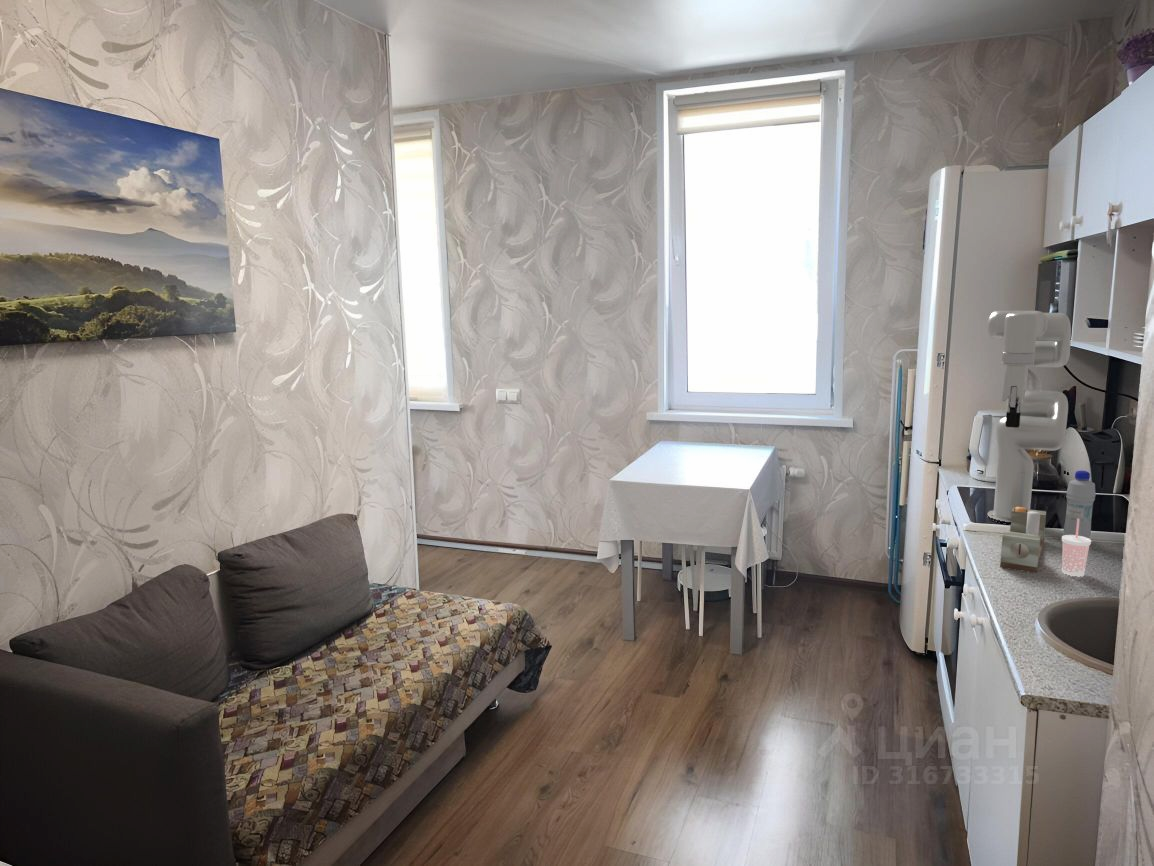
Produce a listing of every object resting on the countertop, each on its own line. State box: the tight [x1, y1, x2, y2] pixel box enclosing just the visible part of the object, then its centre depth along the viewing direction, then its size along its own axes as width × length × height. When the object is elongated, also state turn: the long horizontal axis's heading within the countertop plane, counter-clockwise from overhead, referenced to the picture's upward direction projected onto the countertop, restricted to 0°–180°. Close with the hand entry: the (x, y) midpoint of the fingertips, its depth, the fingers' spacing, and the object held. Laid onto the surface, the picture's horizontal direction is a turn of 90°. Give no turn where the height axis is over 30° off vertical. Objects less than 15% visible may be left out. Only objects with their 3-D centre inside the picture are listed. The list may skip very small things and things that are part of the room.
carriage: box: [1026, 511, 1040, 535], centre depth 198 cm, size 5×7×10 cm
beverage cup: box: [1061, 519, 1092, 578], centre depth 189 cm, size 6×6×14 cm
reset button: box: [1015, 507, 1026, 512], centre depth 214 cm, size 3×3×4 cm
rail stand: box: [999, 508, 1047, 574], centre depth 204 cm, size 28×8×8 cm, turn 146°
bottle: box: [1063, 470, 1097, 539], centre depth 211 cm, size 7×7×20 cm
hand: (1012, 426), depth 210 cm, fingers closed
